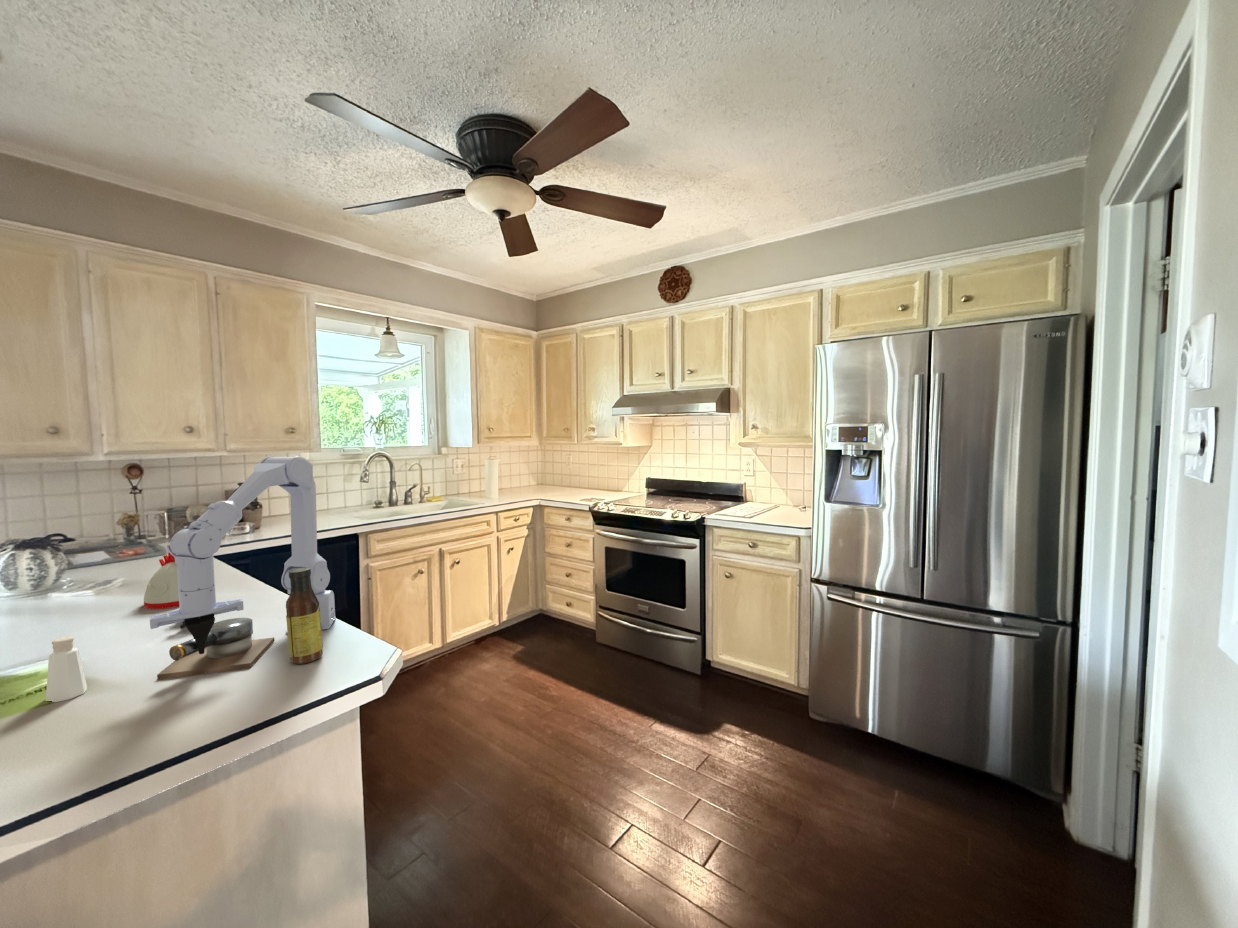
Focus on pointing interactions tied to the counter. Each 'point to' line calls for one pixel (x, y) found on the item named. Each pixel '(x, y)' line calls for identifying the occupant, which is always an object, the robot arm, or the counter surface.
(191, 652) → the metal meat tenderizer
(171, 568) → the white and red dome
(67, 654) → the pepper shaker
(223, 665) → the thin wooden panel
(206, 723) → the counter surface
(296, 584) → the sauce bottle
